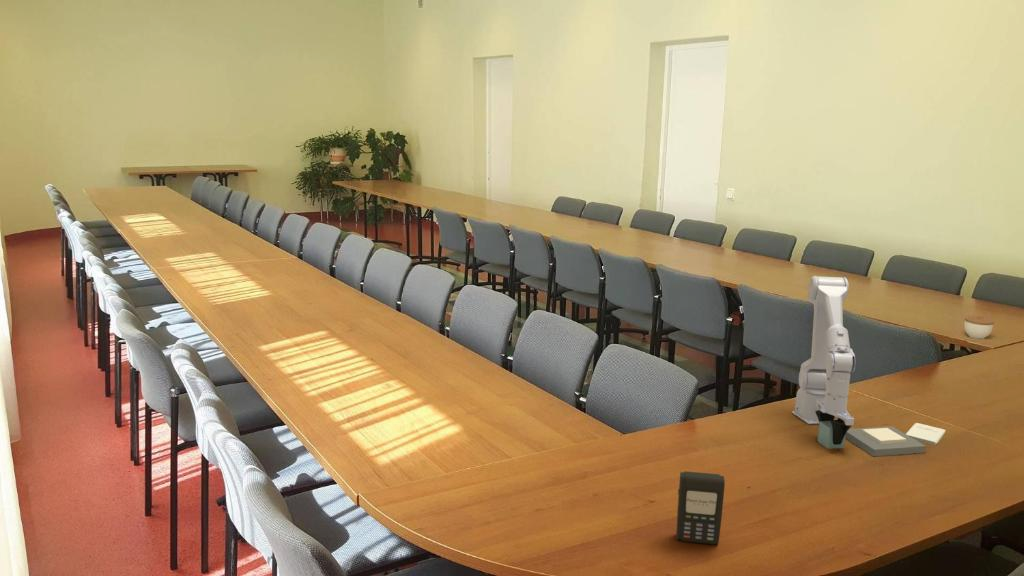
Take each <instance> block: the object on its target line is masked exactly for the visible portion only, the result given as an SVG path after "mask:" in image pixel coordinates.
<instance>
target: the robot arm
mask: <svg viewBox="0 0 1024 576" xmlns="http://www.w3.org/2000/svg"><path fill="white" fill-rule="evenodd" d="M849 287H850V284H849V281H848V279H847V277H844V276H842V277H838V276H836V277H835V276H820V275H819V276H817V275H812V277H811V278H810V279H809V283H808V295H807V299H808V302H809V303H811V304H813V321H812V323H813V324H812V336H811V337H812V339H811V354H810V356H811V357H809V359H807V360H806V361H803V362H802V363H801V365H800V369H799V370H800V371H799V374H798V385H799V389H798V390H797V391H796V397H795V406H794V407H795V408H794V410H792V412H791V413H792V414H793V415H795V416H796V417H798V418H799V419H801V420H802V421H804V422H805V423H806V424H808V425H817V424H819V423H820V422H821V421H831V424H832V428H833V444H834V445H838V444H841V443H842V441H843V438H844V436H845V434H846V432H847V431H848V430H849V429H851V427H852V426H854V422H855V418H854V417H853V416H851V414H850V413H849V411H848V410H847V405H848V396H849V391H850V381H851V374H853V373H854V372H855V369H856V355H855V352H854V351H853V349H852V348H851V345H850V339H849V337H850V336H849V331H848V329H847V328H845V327H844V324H843V320H844V319H843V315H844V314H843V303H844V302H845V300H846V298H847V296H848V294H849V289H850V288H849ZM835 418H837V419H835Z"/></svg>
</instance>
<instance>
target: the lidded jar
mask: <svg viewBox="0 0 1024 576" xmlns="http://www.w3.org/2000/svg"><path fill="white" fill-rule="evenodd" d="M994 323H995V321H994V320H993V319H991V318H988V317H985V316H984V317H983V316H982V315H981V314H979V315H978V316H977V315H976V316H975V315H974V316H973V315H969V316H965V317H964V331H965V332H966V334H967V336H969V337H970V338H972V339H979V340H980V339H986V337H988V336H990V334H991V333H992V331H993V327H994Z"/></svg>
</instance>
